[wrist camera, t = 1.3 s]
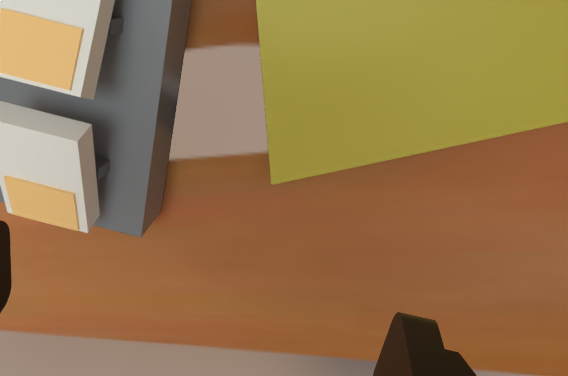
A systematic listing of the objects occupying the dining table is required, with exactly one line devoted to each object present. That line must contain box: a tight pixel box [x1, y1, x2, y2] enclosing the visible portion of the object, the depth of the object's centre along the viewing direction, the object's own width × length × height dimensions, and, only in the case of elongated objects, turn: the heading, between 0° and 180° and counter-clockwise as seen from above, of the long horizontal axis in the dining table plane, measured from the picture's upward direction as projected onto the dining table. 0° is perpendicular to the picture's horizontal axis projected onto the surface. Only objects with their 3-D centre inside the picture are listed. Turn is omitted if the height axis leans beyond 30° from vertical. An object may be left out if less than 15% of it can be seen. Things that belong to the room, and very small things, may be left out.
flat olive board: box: [256, 0, 568, 185], centre depth 29 cm, size 12×2×24 cm
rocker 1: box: [0, 0, 115, 100], centre depth 25 cm, size 7×5×2 cm
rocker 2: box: [0, 101, 100, 233], centre depth 28 cm, size 7×5×2 cm
